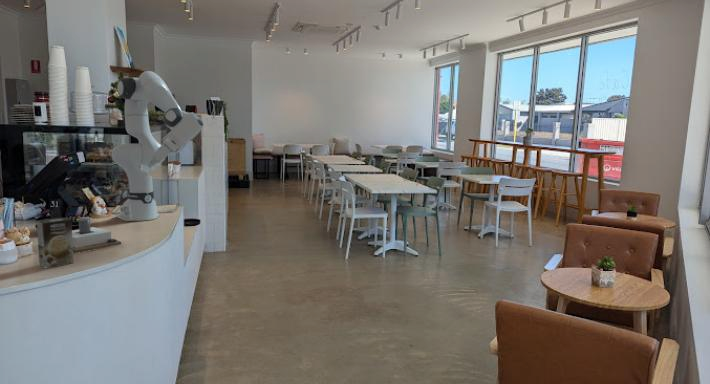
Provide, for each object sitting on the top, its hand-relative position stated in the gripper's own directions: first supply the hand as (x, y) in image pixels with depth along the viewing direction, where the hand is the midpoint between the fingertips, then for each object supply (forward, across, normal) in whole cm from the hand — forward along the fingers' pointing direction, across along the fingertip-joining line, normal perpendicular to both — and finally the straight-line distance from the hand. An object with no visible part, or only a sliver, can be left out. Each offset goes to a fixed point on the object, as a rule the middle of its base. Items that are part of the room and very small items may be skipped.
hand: (149, 165), depth 211 cm
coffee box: (+41, +39, +3) cm, 57 cm away
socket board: (+40, +10, +5) cm, 41 cm away
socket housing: (+40, +10, +5) cm, 41 cm away
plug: (+39, +10, +4) cm, 40 cm away
